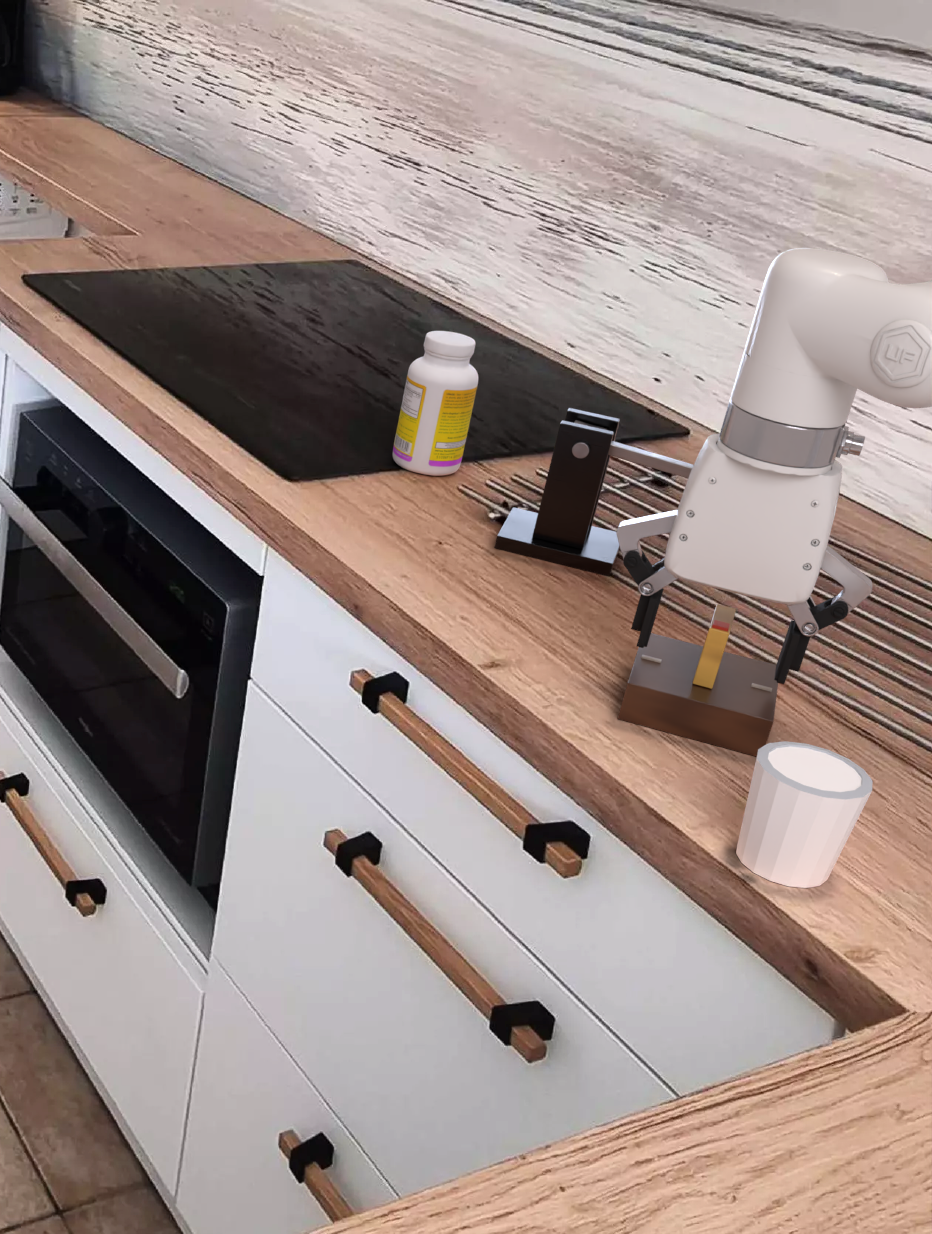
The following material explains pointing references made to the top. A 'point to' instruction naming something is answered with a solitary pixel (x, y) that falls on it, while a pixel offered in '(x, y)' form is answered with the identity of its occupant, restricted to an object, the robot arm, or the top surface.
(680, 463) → the door handle
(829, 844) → the shot glass
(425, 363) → the supplement bottle
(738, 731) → the plate
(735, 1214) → the top surface
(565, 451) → the handle bracket
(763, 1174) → the top surface
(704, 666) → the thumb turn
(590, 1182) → the top surface
